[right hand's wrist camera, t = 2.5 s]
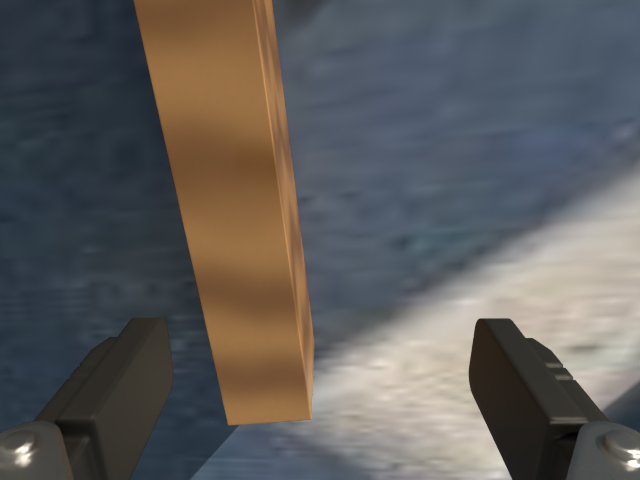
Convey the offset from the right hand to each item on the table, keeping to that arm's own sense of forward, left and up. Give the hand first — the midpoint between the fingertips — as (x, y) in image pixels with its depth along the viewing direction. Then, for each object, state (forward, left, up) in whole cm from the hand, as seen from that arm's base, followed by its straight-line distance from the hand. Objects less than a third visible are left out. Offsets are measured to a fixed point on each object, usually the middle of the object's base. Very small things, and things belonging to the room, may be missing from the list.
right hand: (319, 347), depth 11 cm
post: (+15, -2, -18) cm, 24 cm away
